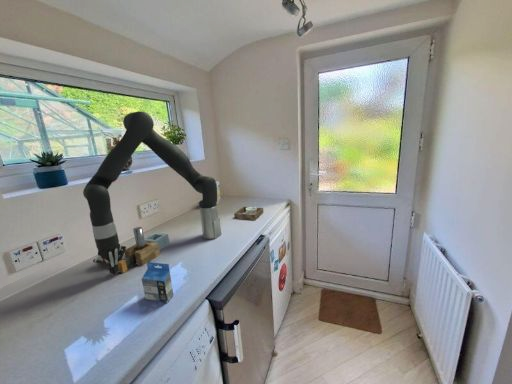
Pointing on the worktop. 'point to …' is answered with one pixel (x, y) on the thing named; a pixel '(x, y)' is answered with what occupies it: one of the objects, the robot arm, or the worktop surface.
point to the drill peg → (139, 238)
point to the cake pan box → (218, 192)
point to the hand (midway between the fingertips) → (115, 273)
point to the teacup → (251, 210)
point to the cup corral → (248, 216)
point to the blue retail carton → (157, 282)
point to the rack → (158, 239)
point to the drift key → (127, 263)
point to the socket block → (143, 253)
